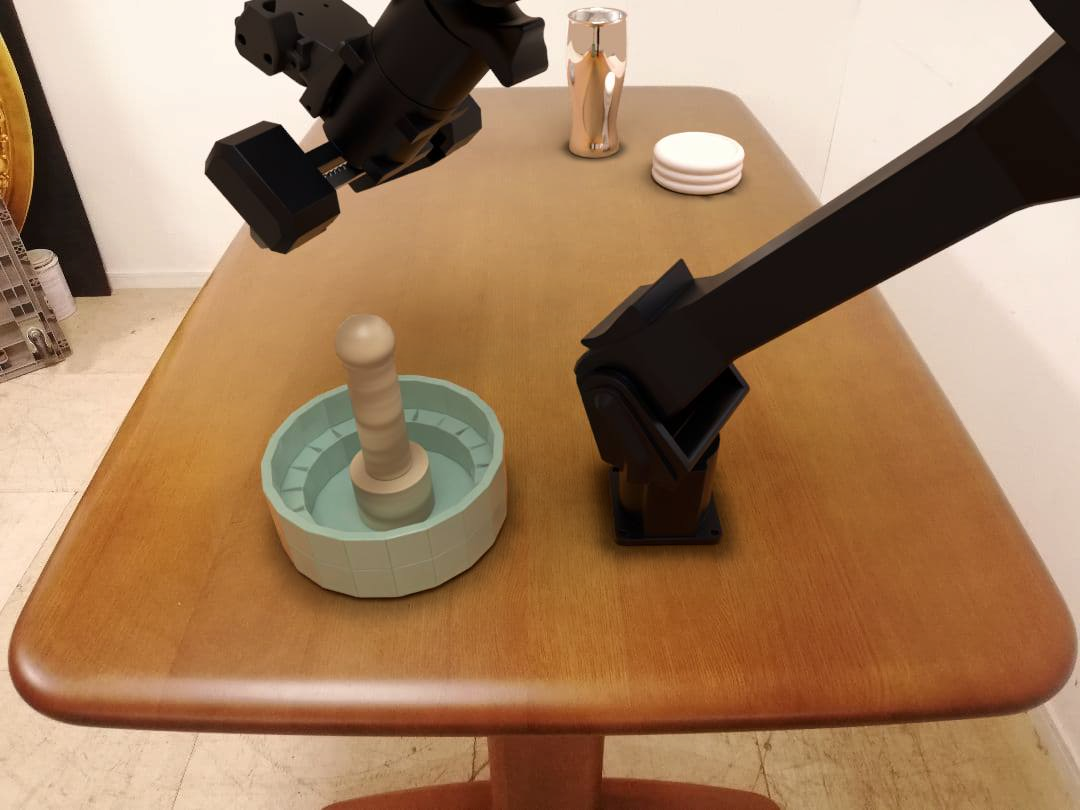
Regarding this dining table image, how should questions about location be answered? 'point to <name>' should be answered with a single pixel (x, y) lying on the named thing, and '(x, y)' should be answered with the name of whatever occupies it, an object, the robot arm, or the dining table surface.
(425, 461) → the pestle
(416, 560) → the bowl
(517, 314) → the dining table surface
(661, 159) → the coaster
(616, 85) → the beer glass
